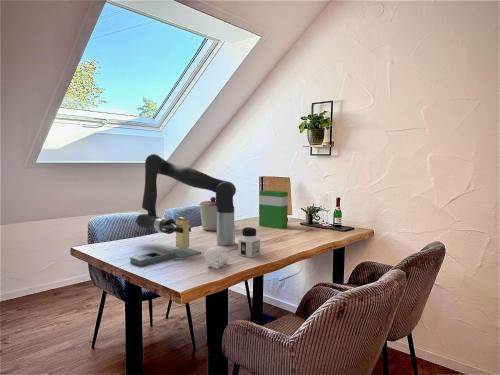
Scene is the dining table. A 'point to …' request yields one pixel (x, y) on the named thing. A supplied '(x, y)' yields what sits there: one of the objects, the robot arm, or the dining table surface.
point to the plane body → (152, 258)
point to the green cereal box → (273, 209)
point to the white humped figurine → (215, 257)
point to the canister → (209, 214)
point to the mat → (185, 252)
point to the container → (249, 243)
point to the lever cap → (182, 238)
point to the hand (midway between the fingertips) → (186, 230)
